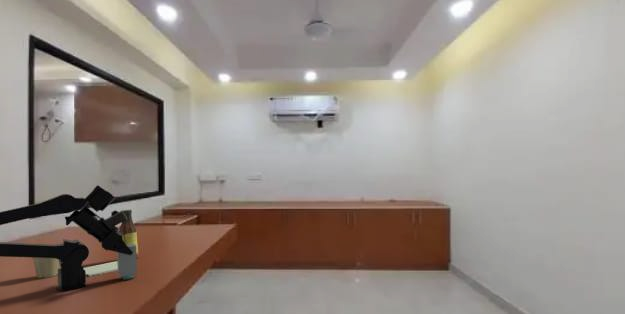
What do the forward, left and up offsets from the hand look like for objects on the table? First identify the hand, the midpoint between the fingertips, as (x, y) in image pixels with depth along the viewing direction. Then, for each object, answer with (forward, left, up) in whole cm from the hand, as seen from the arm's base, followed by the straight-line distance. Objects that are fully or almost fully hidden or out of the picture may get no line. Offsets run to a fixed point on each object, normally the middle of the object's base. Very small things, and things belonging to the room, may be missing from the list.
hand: (131, 252), depth 135 cm
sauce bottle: (+14, +31, -8) cm, 35 cm away
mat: (+1, +22, -8) cm, 24 cm away
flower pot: (-15, +31, -8) cm, 36 cm away
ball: (-1, 0, -8) cm, 8 cm away
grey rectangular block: (-1, 0, -7) cm, 7 cm away
